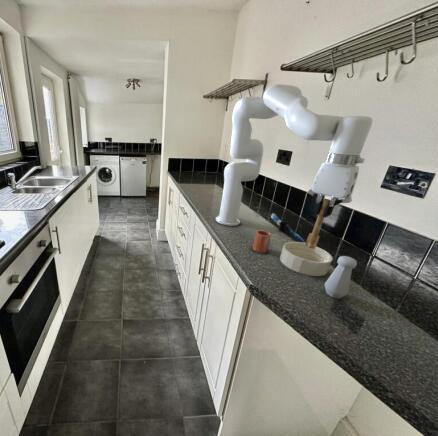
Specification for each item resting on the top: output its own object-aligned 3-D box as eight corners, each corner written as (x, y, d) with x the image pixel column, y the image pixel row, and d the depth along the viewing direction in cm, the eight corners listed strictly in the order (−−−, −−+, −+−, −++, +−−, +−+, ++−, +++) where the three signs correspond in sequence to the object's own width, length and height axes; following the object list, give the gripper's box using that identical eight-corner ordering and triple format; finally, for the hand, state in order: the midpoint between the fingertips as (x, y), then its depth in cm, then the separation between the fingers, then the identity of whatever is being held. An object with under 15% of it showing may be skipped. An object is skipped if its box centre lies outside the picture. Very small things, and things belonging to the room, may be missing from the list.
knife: (268, 218, 127) (270, 211, 125) (274, 219, 127) (276, 211, 125) (298, 252, 100) (302, 243, 98) (305, 252, 100) (309, 243, 98)
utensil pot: (250, 247, 99) (253, 230, 96) (262, 247, 99) (266, 230, 96) (256, 253, 94) (260, 236, 91) (269, 253, 94) (273, 236, 91)
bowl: (271, 254, 93) (275, 241, 91) (307, 254, 94) (312, 241, 92) (295, 277, 79) (300, 262, 77) (337, 277, 80) (343, 263, 78)
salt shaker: (335, 302, 69) (351, 265, 64) (317, 289, 74) (331, 254, 69) (349, 298, 70) (366, 262, 65) (331, 286, 75) (345, 252, 70)
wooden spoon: (304, 246, 84) (320, 198, 77) (306, 244, 84) (323, 198, 77) (313, 249, 81) (331, 201, 74) (315, 248, 82) (333, 200, 75)
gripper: (379, 163, 67) (354, 221, 74) (318, 156, 79) (302, 206, 86) (370, 165, 63) (345, 226, 70) (308, 156, 75) (292, 209, 82)
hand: (321, 214), depth 78 cm, fingers closed on wooden spoon, 1 cm apart
